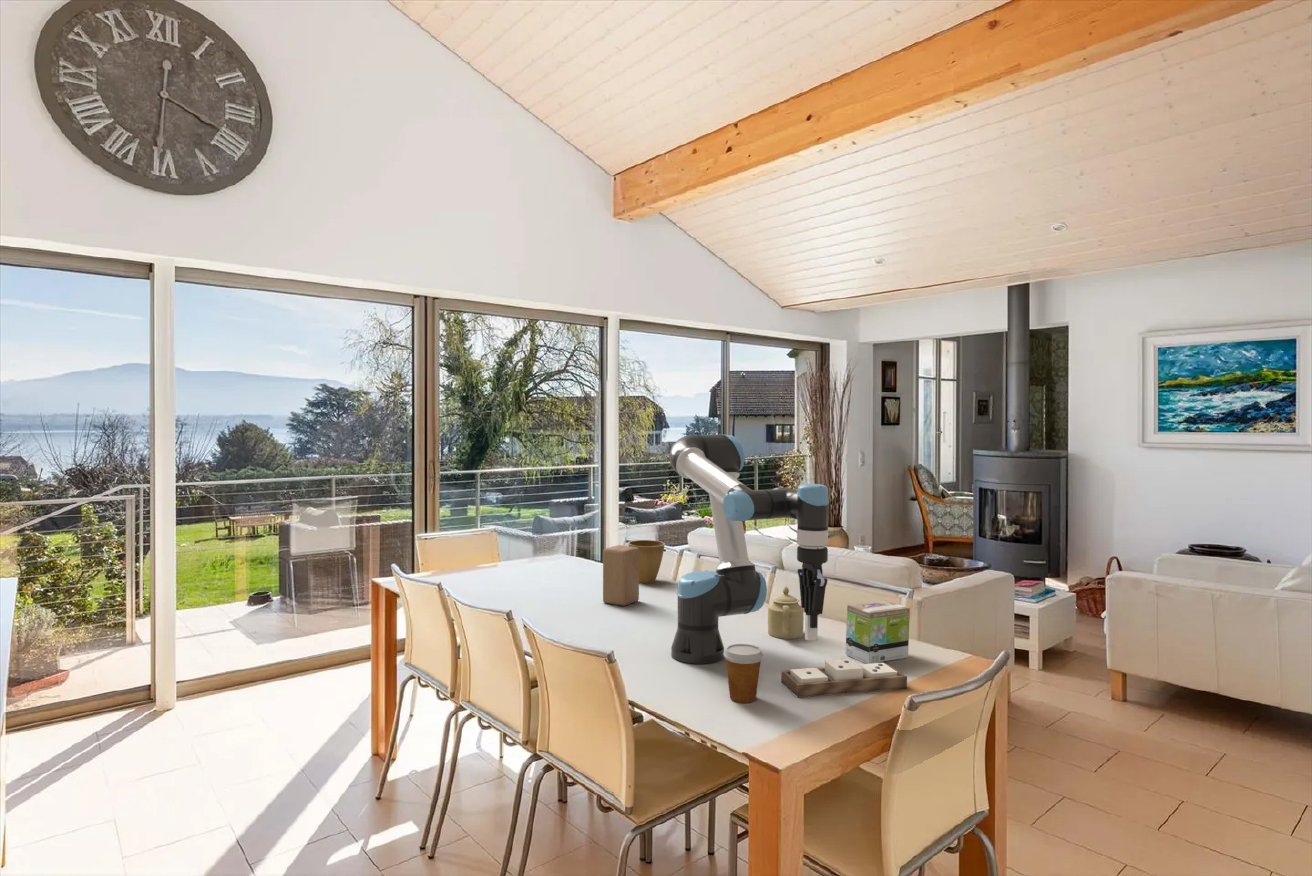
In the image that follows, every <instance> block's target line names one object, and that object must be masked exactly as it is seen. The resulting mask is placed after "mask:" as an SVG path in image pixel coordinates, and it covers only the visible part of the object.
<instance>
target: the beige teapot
mask: <svg viewBox="0 0 1312 876" xmlns="http://www.w3.org/2000/svg"><path fill="white" fill-rule="evenodd" d="M782 593H783V594H779V595H776V596H775V597H773V598H772V603H771V604H769V605H768V606H767V633H768V635H769V636H771V637H773V638H777V639H784V640H785V639H786V640H790V639H793V640H794V638H795V639H799V638H802V637H803V636H804V622H805V620H804V619H805V618H804V617H805V616H804V613H805V612H804V608H802V607H801V604H799V602H800V600H799V599H798V598H796V597H795V596H794V595H790V594H789V593H790V589H789V588H788V586H784V587H783V589H782Z"/></svg>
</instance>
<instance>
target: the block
mask: <svg viewBox="0 0 1312 876" xmlns="http://www.w3.org/2000/svg"><path fill="white" fill-rule="evenodd" d="M639 600H640V583H639V548H637V547H630V546H629V545H622V544H621V545H620V544H618V545H614V546H609V547H606V548H604V549H603V550H602V601H603V603H605V604H610V605H611V604H612V605H616V606H622V607H625V606H628V605H630V604H633V603H636V602H638V601H639Z"/></svg>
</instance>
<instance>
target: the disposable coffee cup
mask: <svg viewBox="0 0 1312 876" xmlns="http://www.w3.org/2000/svg"><path fill="white" fill-rule="evenodd" d="M763 657H764V654H763V652H762V649H761V648H760V647H759V646H756V645H755V644H749V643H734V644H729V645H727V646H726V647H725V648H724V659H725V665H726V675H727V685H728V692H729V698H730V700H731V701H733V702H735V703H740V704H748V703H753V702H755V701H756V699H757V693H758V685H759V679H760V671H761V663H762V660H763Z"/></svg>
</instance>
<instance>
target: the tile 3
mask: <svg viewBox="0 0 1312 876" xmlns="http://www.w3.org/2000/svg"><path fill="white" fill-rule="evenodd" d="M884 663H885V662H877V663H872V664H866V663H863V664H861V663H859V664H858V665H859V666H860V667H862V668H863V673H864V674H866V675H867V676H869V677H870V678H876V677H889V676H897V671H898V670H897V671H895V670H894V669H895V668H894V669H892V668H891V667H892V666H891V667H889V666H887V665H886V664H887V663H886V664H884Z"/></svg>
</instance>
